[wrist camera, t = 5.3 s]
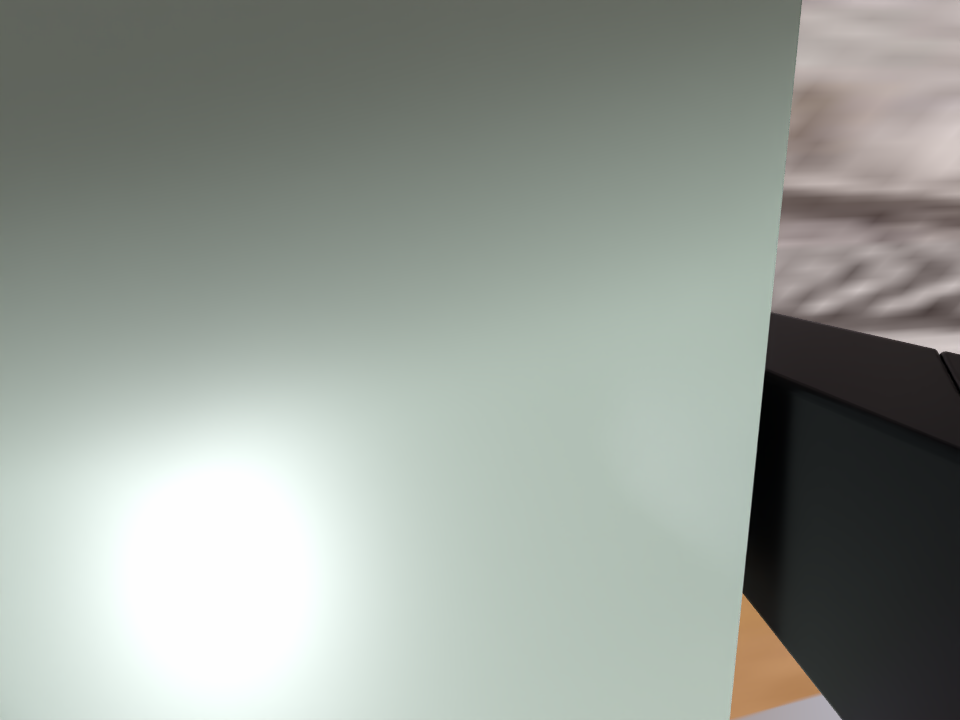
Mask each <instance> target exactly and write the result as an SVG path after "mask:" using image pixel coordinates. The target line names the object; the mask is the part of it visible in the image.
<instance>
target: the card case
mask: <svg viewBox="0 0 960 720" xmlns="http://www.w3.org/2000/svg"><path fill="white" fill-rule="evenodd" d="M801 5H802V0H0V720H730V710H731V700H732V690H733V680H734V670H735V660H736V650H737V640H738V631H739V621H740V611H741V601H742V591H743V581H744V571H745V561H746V551H747V541H748V531H749V521H750V511H751V502H752V492H753V482H754V472H755V462H756V452H757V442H758V432H759V422H760V412H761V402H762V392H763V382H764V373H765V363H766V353H767V343H768V333H769V323H770V313H771V303H772V293H773V283H774V273H775V263H776V253H777V244H778V234H779V224H780V214H781V204H782V194H783V184H784V174H785V164H786V154H787V144H788V134H789V125H790V115H791V105H792V95H793V85H794V75H795V65H796V55H797V45H798V35H799V25H800V15H801Z"/></svg>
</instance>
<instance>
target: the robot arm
mask: <svg viewBox="0 0 960 720" xmlns="http://www.w3.org/2000/svg"><path fill="white" fill-rule="evenodd" d="M742 593H743V594H744V595H745V597H746V598H747V599H748V600H749V602H750V603H751V604H752V605H753V607H754V608H755V609H756V611H757V612H758V613H759V614H760V616H761V617H762V618H763V619H764V621H765V622H766V623H767V625H768V626H769V627H770V628H771V630H772V631H773V632H774V633H775V635H776V636H777V637H778V639H779V640H780V641H781V642H782V644H783V645H784V646H785V648H786V649H787V650H788V651H789V653H790V654H791V655H792V656H793V658H794V659H795V660H796V662H797V663H798V664H799V665H800V667H801V668H802V669H803V670H804V672H805V673H806V674H807V676H808V677H809V678H810V679H811V681H812V682H813V683H814V684H815V686H816V687H817V688H818V690H819V691H820V692H821V693H822V695H823V696H824V697H825V698H826V700H827V701H828V702H829V704H830V705H831V706H832V707H833V709H834V710H835V711H836V712H837V714H838V715H839V716H840V718H841V719H842V720H960V354H955V353H951V352H946V351H945V352H942V353H941V354H940V355H939V353H938V352H937V350H935V349H932V348H928V347H923V346H919V345H915V344H910V343H906V342H901V341H897V340H892V339H888V338H883V337H879V336H875V335H870V334H866V333H861V332H857V331H852V330H848V329H844V328H839V327H835V326H830V325H826V324H821V323H817V322H812V321H808V320H804V319H799V318H795V317H790V316H786V315H781V314H777V313H773V312H771V313H770V323H769V333H768V343H767V353H766V363H765V373H764V382H763V392H762V402H761V412H760V422H759V432H758V442H757V452H756V462H755V472H754V482H753V492H752V502H751V511H750V521H749V531H748V541H747V551H746V561H745V571H744V581H743V591H742Z"/></svg>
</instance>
